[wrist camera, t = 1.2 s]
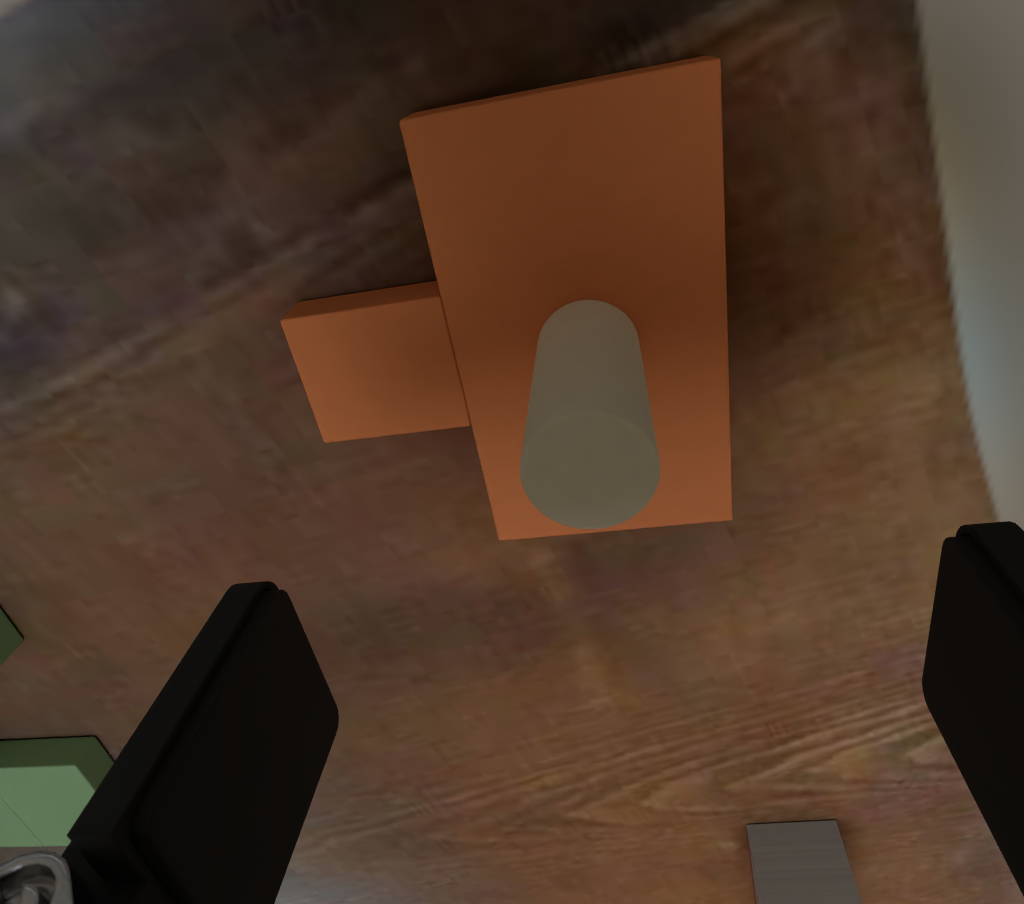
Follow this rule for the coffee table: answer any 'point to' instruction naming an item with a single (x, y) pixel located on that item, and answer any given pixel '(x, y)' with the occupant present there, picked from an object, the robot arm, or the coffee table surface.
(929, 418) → the coffee table surface
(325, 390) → the tab pad
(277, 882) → the robot arm
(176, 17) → the coffee table surface
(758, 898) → the grey piece
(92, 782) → the notch pad
